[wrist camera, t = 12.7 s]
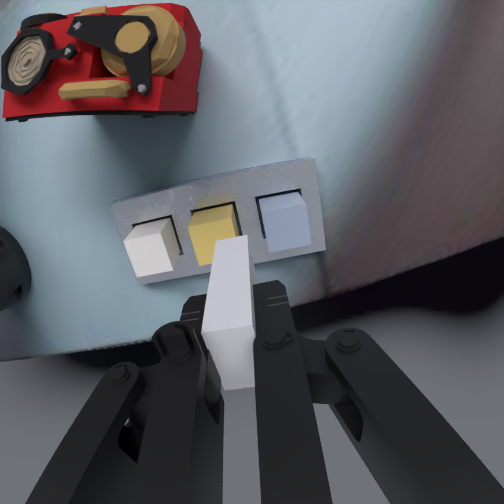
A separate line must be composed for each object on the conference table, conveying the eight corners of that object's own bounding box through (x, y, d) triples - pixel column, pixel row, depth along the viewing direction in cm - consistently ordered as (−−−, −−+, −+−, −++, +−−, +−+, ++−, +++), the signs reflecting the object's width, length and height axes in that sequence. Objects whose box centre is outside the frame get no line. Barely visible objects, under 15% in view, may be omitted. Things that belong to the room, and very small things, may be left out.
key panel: (142, 277, 43) (139, 285, 41) (115, 200, 38) (109, 205, 36) (322, 243, 42) (325, 249, 40) (310, 157, 36) (314, 159, 35)
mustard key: (203, 247, 39) (199, 265, 35) (194, 212, 37) (187, 227, 33) (240, 240, 39) (240, 257, 34) (232, 204, 37) (231, 217, 32)
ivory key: (147, 258, 40) (136, 277, 35) (135, 225, 38) (123, 241, 33) (180, 251, 39) (173, 270, 35) (169, 217, 37) (160, 232, 33)
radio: (212, 38, 29) (183, -31, 11) (199, 116, 34) (155, 121, 16) (93, 41, 28) (-7, 10, 10) (83, 113, 32) (-25, 130, 14)
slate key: (265, 235, 39) (269, 252, 34) (258, 199, 37) (261, 212, 32) (303, 228, 38) (311, 244, 34) (297, 191, 36) (306, 203, 32)
